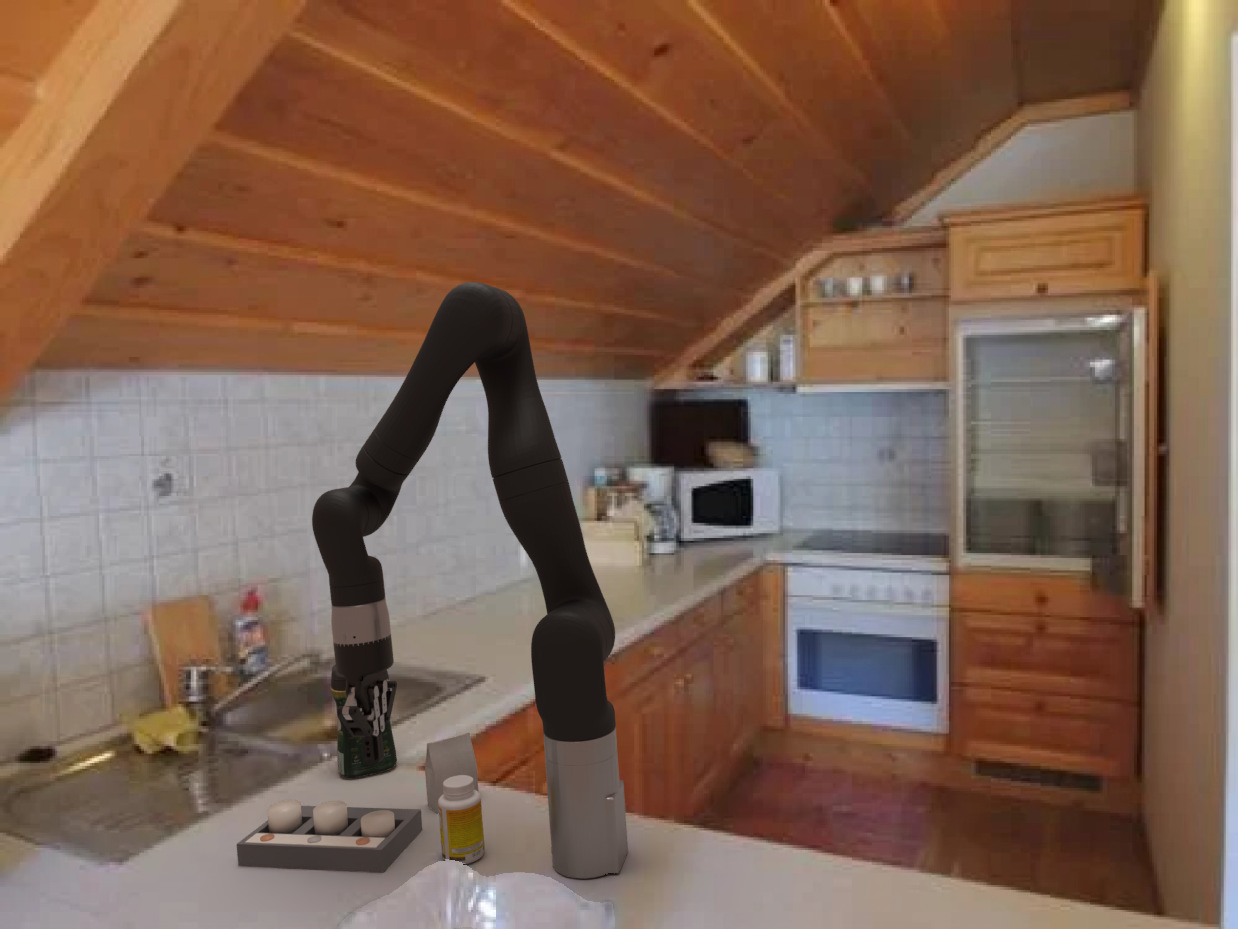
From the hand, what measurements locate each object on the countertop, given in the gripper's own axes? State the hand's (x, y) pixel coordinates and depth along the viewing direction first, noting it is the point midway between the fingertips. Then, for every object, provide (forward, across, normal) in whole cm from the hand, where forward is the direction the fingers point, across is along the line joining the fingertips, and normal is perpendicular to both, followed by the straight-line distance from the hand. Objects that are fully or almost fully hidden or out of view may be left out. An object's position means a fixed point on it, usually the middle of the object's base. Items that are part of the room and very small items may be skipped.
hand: (374, 761), depth 122 cm
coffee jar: (+12, +27, +16) cm, 34 cm away
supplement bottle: (+13, -1, -12) cm, 17 cm away
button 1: (+9, 0, +14) cm, 17 cm away
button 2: (+11, 0, +1) cm, 11 cm away
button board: (+12, 0, +8) cm, 14 cm away
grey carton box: (+13, +15, -4) cm, 20 cm away
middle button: (+9, 0, +7) cm, 12 cm away
